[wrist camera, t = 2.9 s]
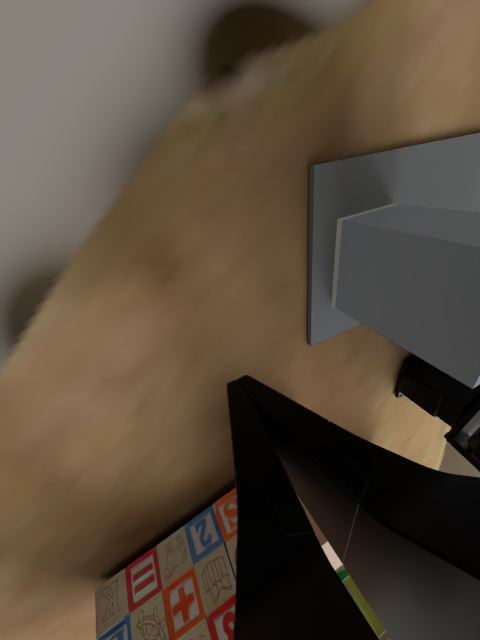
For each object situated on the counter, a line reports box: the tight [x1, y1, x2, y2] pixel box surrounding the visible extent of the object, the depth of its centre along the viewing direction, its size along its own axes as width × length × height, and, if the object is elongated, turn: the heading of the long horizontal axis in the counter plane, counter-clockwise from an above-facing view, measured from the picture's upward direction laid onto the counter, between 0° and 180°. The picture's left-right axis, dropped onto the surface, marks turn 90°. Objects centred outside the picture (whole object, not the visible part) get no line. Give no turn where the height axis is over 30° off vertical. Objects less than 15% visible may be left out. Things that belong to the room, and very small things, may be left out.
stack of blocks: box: [95, 488, 350, 640], centre depth 21 cm, size 21×6×12 cm, turn 115°
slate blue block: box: [331, 204, 480, 389], centre depth 14 cm, size 4×6×9 cm
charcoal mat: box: [308, 132, 480, 346], centre depth 19 cm, size 18×12×1 cm, turn 99°
